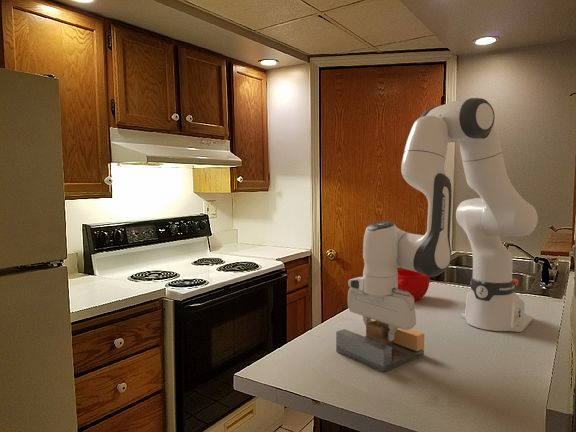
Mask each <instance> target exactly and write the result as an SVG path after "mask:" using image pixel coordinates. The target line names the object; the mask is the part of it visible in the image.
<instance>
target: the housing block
mask: <svg viewBox="0 0 576 432" xmlns="http://www.w3.org/2000/svg"><path fill="white" fill-rule="evenodd" d="M389 331H390V328H389V324H386V323H383V322H380V321H377V320H376V321H373V322H369V323H366V325H365V336H366V337H367V338H369V339H372V340H374V341H377V342H380V343H382V344H385V345H390V344H392V343H394V340H393V341H388V340H386V339H385V337H386V336H385V333H388V332H389Z"/></svg>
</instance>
